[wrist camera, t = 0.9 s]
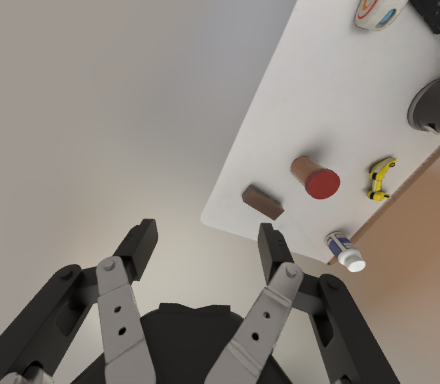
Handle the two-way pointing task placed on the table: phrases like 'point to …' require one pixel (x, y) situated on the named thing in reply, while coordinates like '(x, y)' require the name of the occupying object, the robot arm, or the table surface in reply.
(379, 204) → the table surface
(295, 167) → the jar
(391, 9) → the roller toy
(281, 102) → the table surface
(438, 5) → the game console
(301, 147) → the table surface
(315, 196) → the jar lid
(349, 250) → the pill bottle
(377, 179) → the yellow curved piece
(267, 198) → the lid rest
